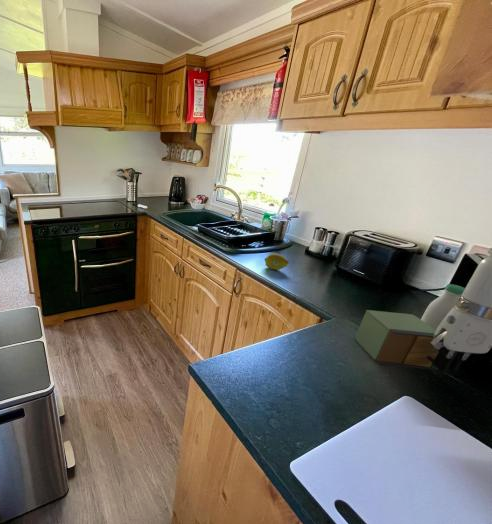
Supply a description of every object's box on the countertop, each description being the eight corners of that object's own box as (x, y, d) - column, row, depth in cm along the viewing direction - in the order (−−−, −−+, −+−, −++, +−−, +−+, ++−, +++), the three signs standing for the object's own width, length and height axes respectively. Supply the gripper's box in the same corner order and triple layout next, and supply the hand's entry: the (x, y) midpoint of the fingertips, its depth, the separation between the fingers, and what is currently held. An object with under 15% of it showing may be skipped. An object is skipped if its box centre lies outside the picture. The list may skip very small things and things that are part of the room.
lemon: (260, 268, 145) (264, 253, 142) (265, 264, 151) (269, 249, 148) (282, 275, 139) (287, 259, 136) (287, 270, 144) (291, 255, 141)
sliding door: (446, 380, 77) (464, 352, 73) (418, 377, 77) (435, 349, 74) (428, 365, 82) (444, 338, 79) (402, 363, 83) (417, 335, 79)
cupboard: (429, 369, 82) (447, 337, 78) (378, 364, 83) (394, 332, 79) (398, 343, 93) (413, 314, 89) (354, 338, 94) (366, 309, 89)
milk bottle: (442, 351, 91) (475, 295, 83) (411, 338, 96) (439, 285, 88) (444, 341, 96) (475, 288, 88) (414, 330, 101) (441, 279, 93)
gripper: (460, 313, 66) (424, 374, 73) (532, 320, 66) (489, 381, 73) (432, 297, 73) (402, 355, 80) (497, 303, 73) (461, 361, 80)
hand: (443, 367), depth 76 cm, fingers closed
